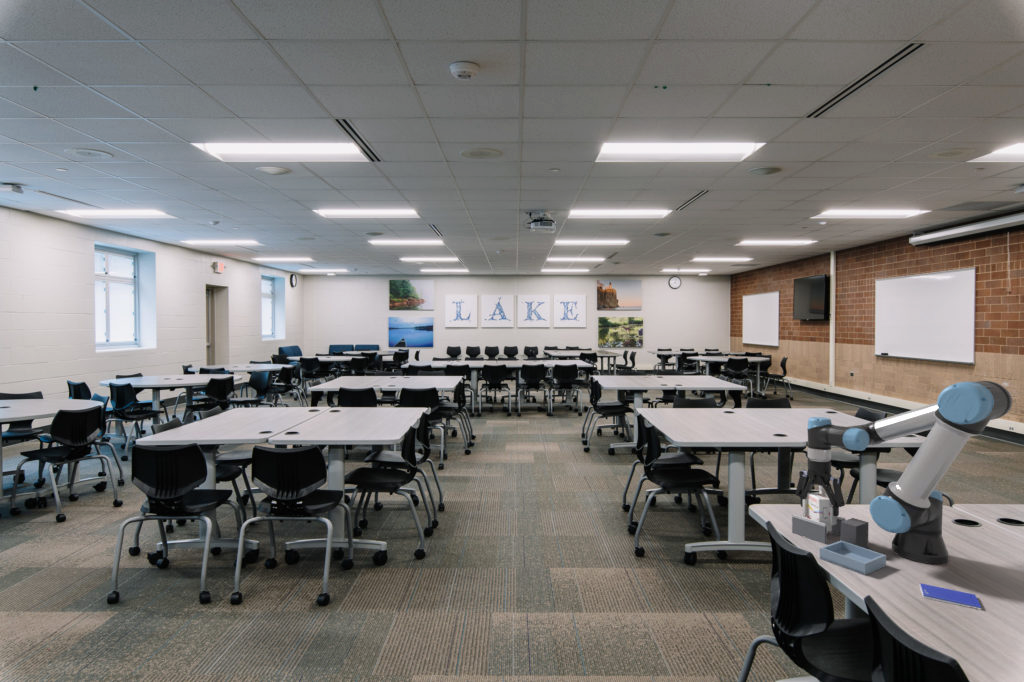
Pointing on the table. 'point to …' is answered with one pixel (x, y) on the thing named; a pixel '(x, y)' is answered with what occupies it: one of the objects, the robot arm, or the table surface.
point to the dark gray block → (855, 532)
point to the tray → (853, 557)
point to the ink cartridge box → (819, 507)
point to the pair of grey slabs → (814, 528)
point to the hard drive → (949, 596)
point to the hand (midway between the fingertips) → (819, 520)
